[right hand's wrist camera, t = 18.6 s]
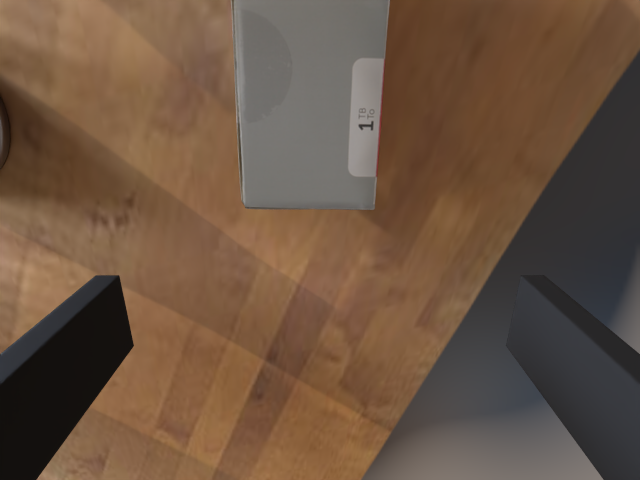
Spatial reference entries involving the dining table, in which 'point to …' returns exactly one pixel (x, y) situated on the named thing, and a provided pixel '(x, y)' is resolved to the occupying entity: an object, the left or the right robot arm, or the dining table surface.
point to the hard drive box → (309, 101)
